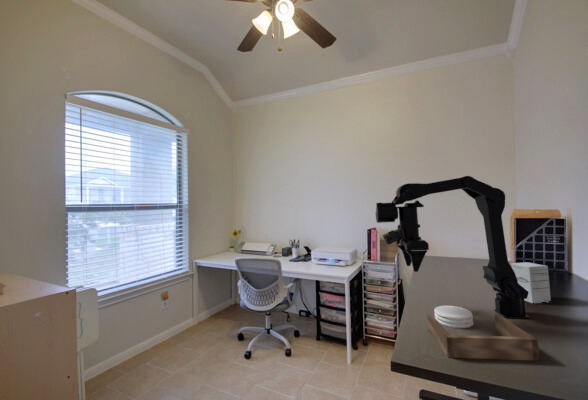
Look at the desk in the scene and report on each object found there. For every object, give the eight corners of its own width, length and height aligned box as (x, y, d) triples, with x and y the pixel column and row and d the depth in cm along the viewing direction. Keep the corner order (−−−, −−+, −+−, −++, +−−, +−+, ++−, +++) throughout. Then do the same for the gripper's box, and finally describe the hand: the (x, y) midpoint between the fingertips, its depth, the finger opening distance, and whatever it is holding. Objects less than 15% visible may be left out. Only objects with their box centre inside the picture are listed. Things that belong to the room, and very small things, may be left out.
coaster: (454, 331, 75) (453, 318, 75) (427, 319, 85) (426, 307, 85) (482, 326, 78) (480, 313, 78) (453, 314, 87) (452, 303, 88)
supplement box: (513, 297, 100) (510, 263, 100) (531, 296, 100) (528, 261, 101) (532, 304, 92) (528, 266, 93) (552, 302, 93) (548, 265, 94)
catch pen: (501, 332, 73) (499, 315, 73) (539, 360, 59) (537, 339, 59) (428, 330, 76) (427, 314, 76) (448, 357, 62) (447, 337, 62)
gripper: (379, 221, 101) (382, 263, 100) (388, 223, 83) (392, 275, 82) (411, 220, 99) (414, 263, 98) (427, 222, 81) (431, 274, 80)
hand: (412, 268), depth 90 cm, fingers open, 9 cm apart
